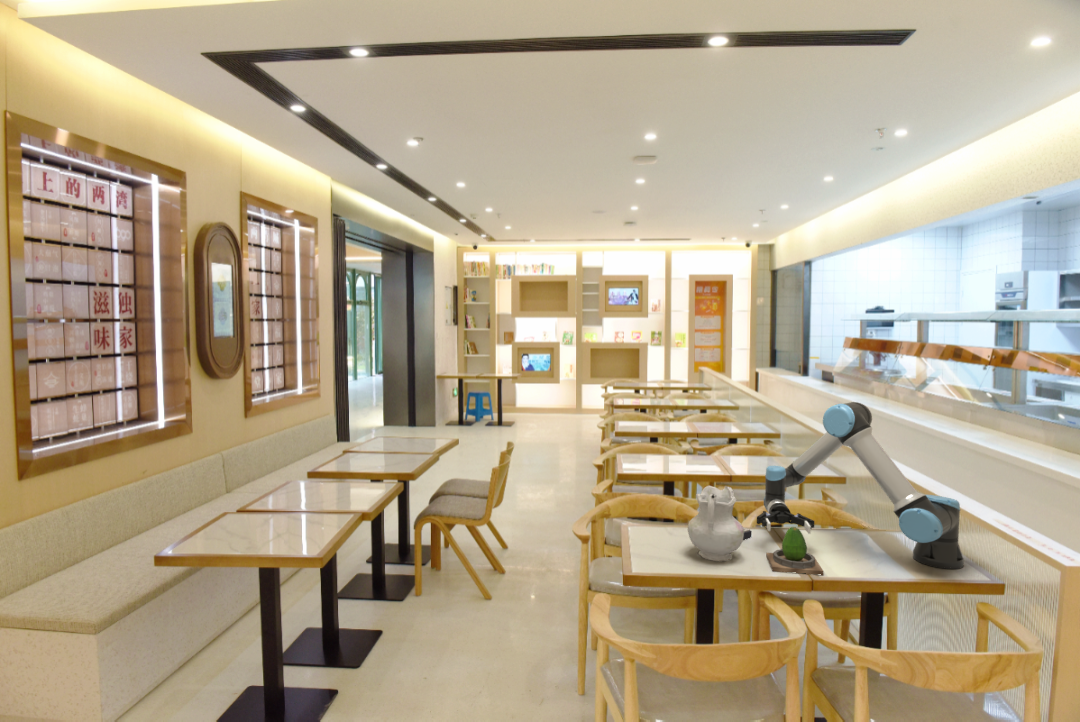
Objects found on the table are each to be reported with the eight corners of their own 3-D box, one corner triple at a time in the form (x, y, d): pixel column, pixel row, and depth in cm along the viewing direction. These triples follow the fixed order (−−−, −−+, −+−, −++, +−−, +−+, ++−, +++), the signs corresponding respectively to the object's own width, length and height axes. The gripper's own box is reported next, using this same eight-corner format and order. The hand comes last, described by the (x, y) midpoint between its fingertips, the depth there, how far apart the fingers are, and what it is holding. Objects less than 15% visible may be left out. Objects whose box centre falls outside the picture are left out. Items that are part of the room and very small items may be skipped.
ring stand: (813, 560, 219) (814, 550, 219) (823, 575, 205) (823, 565, 205) (766, 556, 222) (766, 546, 222) (772, 571, 209) (772, 561, 208)
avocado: (778, 561, 214) (779, 527, 213) (786, 555, 219) (787, 522, 219) (802, 567, 208) (803, 532, 208) (809, 561, 214) (810, 527, 214)
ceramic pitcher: (744, 573, 210) (752, 501, 208) (686, 564, 213) (693, 493, 212) (737, 551, 231) (744, 485, 229) (684, 543, 235) (691, 478, 233)
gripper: (812, 523, 241) (826, 541, 220) (745, 519, 246) (752, 536, 225) (813, 504, 241) (826, 520, 220) (745, 500, 246) (753, 516, 225)
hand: (789, 528), depth 222 cm, fingers open, 13 cm apart
